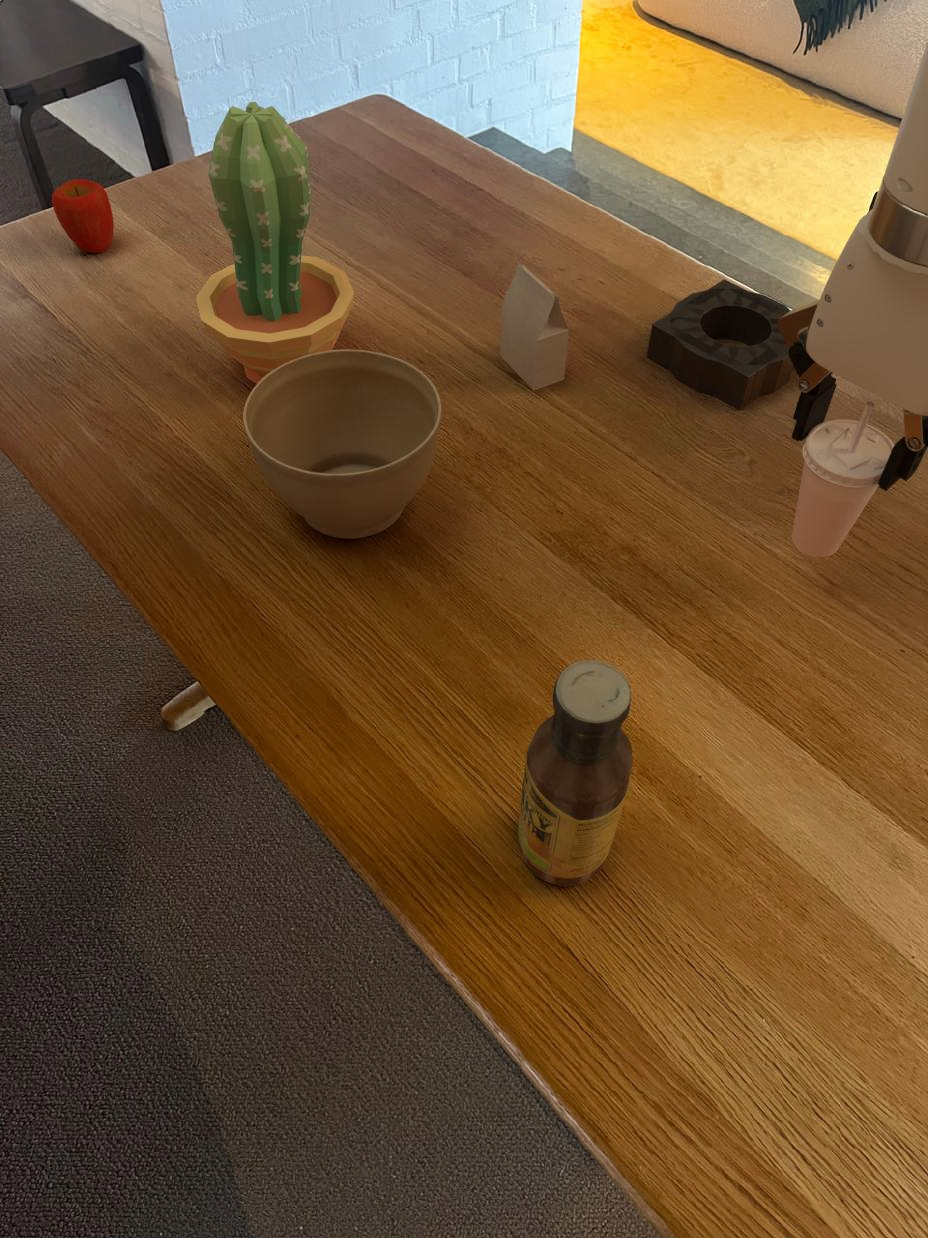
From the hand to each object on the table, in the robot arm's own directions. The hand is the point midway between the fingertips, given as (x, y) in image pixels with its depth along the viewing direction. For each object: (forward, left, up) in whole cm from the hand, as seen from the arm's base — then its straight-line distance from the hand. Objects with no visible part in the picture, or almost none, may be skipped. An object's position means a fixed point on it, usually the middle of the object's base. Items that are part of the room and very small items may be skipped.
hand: (849, 453), depth 69 cm
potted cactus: (+12, -54, -15) cm, 58 cm away
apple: (+15, -88, -15) cm, 91 cm away
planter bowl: (+20, -33, -15) cm, 42 cm away
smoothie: (0, 0, -9) cm, 9 cm away
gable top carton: (-6, -36, -15) cm, 39 cm away
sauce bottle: (+31, +3, -15) cm, 35 cm away
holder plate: (-22, -23, -15) cm, 35 cm away
